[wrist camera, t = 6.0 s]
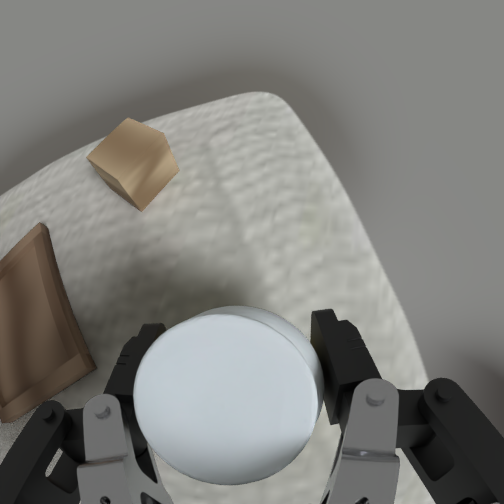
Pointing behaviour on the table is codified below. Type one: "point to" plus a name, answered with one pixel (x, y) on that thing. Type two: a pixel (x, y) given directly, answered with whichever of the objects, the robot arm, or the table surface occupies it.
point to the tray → (36, 328)
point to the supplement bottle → (229, 395)
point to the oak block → (135, 162)
